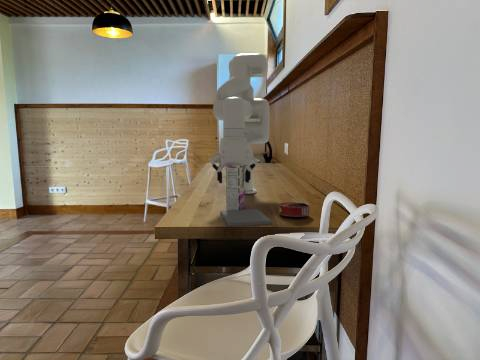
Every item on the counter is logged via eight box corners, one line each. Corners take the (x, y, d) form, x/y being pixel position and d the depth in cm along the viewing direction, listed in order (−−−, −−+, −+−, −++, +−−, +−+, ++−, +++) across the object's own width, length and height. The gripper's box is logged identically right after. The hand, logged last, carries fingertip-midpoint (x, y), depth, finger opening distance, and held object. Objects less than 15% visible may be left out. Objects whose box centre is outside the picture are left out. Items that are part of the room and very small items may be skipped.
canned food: (286, 224, 114) (290, 197, 117) (313, 225, 108) (317, 196, 111) (269, 213, 106) (274, 184, 109) (297, 213, 100) (302, 182, 103)
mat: (220, 213, 112) (220, 210, 112) (257, 211, 114) (257, 208, 114) (228, 226, 96) (228, 222, 96) (271, 223, 99) (271, 220, 99)
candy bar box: (232, 206, 124) (232, 163, 122) (245, 207, 123) (245, 163, 121) (225, 213, 113) (225, 166, 111) (239, 214, 112) (239, 166, 110)
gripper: (255, 134, 121) (254, 180, 123) (208, 134, 117) (208, 181, 120) (260, 134, 114) (260, 183, 116) (210, 133, 110) (210, 184, 112)
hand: (233, 182), depth 118 cm, fingers open, 9 cm apart
